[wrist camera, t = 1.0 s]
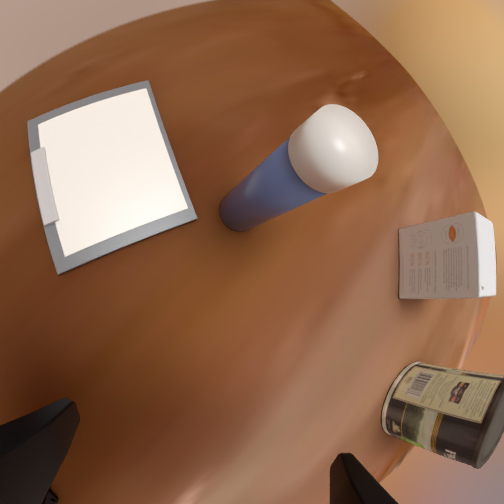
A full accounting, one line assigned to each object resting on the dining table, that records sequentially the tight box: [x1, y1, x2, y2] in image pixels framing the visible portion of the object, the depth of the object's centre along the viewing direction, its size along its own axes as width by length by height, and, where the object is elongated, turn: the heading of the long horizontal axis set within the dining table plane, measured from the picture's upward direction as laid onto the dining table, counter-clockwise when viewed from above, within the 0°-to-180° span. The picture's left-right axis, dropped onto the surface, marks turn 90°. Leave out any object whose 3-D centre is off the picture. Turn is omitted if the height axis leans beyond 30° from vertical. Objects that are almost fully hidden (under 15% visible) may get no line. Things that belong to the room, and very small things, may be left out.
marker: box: [220, 104, 378, 232], centre depth 16 cm, size 3×3×13 cm
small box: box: [399, 211, 496, 299], centre depth 25 cm, size 8×6×10 cm
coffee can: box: [382, 362, 504, 469], centre depth 22 cm, size 10×10×14 cm
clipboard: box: [27, 81, 197, 275], centre depth 18 cm, size 11×13×1 cm
